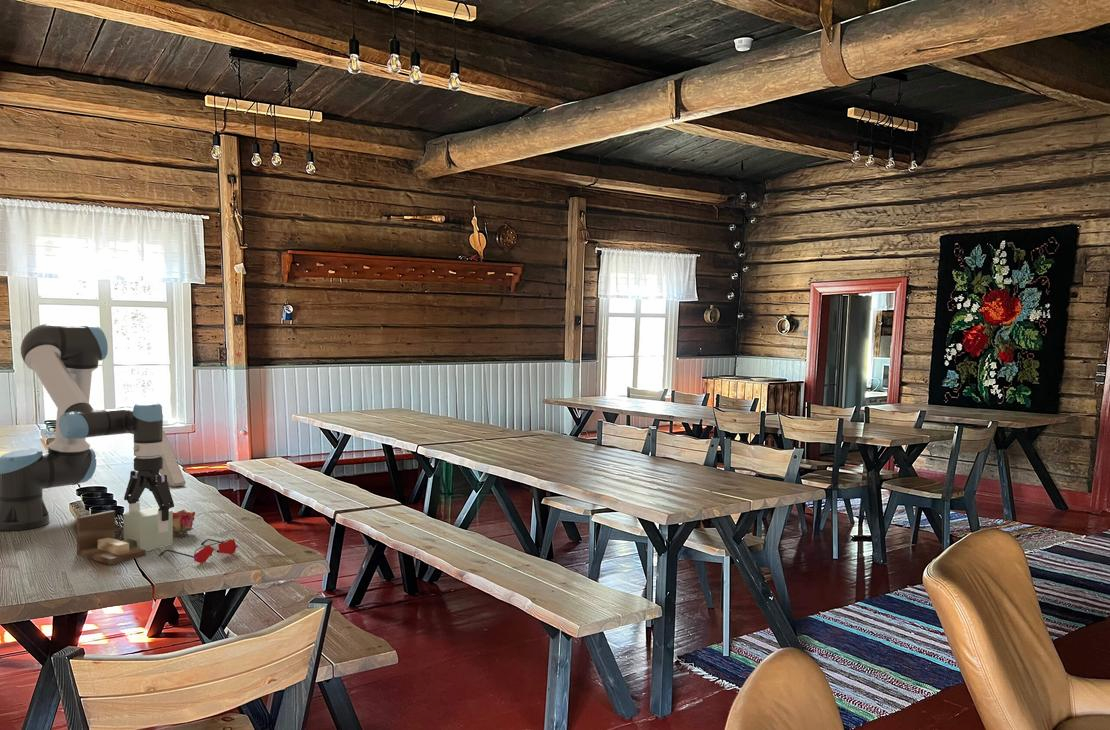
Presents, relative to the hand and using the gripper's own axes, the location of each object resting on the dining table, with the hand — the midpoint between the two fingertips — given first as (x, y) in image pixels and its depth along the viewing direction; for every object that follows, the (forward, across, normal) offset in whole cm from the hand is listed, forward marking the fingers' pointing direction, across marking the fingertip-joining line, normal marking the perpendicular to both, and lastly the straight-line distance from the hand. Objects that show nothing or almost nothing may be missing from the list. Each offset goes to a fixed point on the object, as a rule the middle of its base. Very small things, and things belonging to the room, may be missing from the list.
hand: (148, 528), depth 228 cm
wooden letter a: (+5, -80, +58) cm, 99 cm away
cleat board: (+5, 0, -11) cm, 12 cm away
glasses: (+6, +19, +3) cm, 20 cm away
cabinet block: (+5, 0, 0) cm, 5 cm away
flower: (+5, -3, +12) cm, 14 cm away
